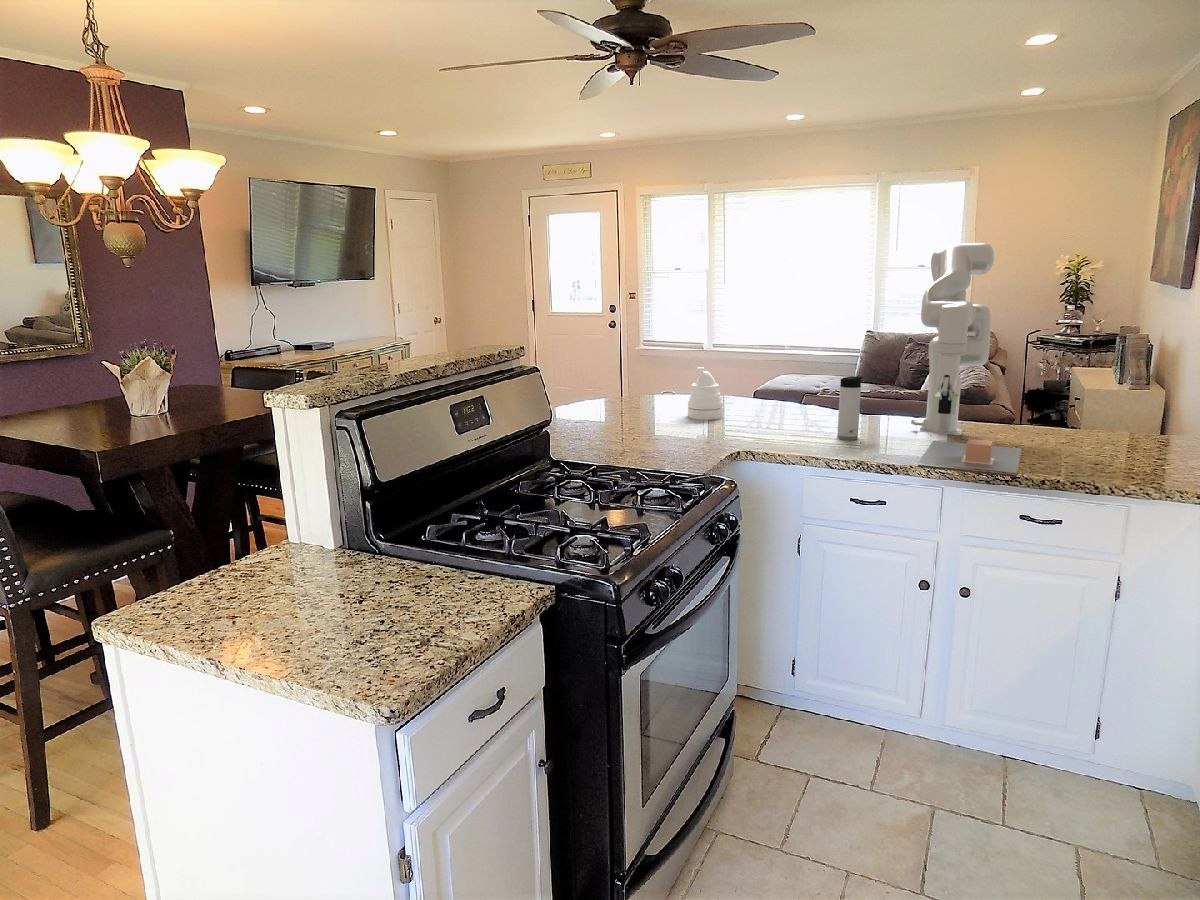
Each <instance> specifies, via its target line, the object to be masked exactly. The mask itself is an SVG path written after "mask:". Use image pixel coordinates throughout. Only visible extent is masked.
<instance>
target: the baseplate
mask: <svg viewBox="0 0 1200 900" xmlns="http://www.w3.org/2000/svg"><path fill="white" fill-rule="evenodd" d="M966 445H967V443H964V442H963V443H962V442H953V441H952V442H951V441H941V440H932V442H931V443H930V445H929V446H928V448H927V449H926V451H925V452H924V453H923V455H922V456H921V458H920V459H919V461H918V464H917V467H918V468H923V469H924V468H925V469H934V470H942V471H943V470H945V471H953V472H962V473H971V474H972V473H973V474H982V475H992V476H998V477H999V476H1001V477H1011V478H1012V477H1013V478H1017V476H1018V472H1017V471H1018V469H1019V466H1020V465H1019V464H1020V459H1021V454H1022V450H1023V449H1022V448H1020V447H1008V446H997V445H992V452H991V460H990V463H978V462H968V461H965V455H966ZM926 464H927V465H926ZM934 465H935V466H934ZM964 468H965V469H964ZM973 469H974V470H973ZM975 469H976V470H975ZM983 470H985V471H983ZM991 471H993V472H991ZM1002 472H1004V473H1002ZM1011 473H1012V474H1011ZM1013 473H1014V474H1013Z"/></svg>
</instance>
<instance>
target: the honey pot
mask: <svg viewBox="0 0 1200 900" xmlns="http://www.w3.org/2000/svg"><path fill="white" fill-rule="evenodd" d="M696 369H697V370H696V371H697V372H698V373H699V376H698V377H697V379H696V381H695V382H694V383H691V388H692V390H691V393H690V396H689V400H688V402H687V417H688V418H690V419H694V420H702V421H703V420H704V421H705V420H706V421H708V420H710V421H711V420H719V419H722V418H723V417H724V402H723V400H722V396H721V392H720V390H719V387H720V385H719V384H718V383H717V382H716V380H715V378H714V376H713V375H712V374H711V372H709V371H708V370H706V371H705V367H704V366H703V367H701V366H699V367H696Z"/></svg>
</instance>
